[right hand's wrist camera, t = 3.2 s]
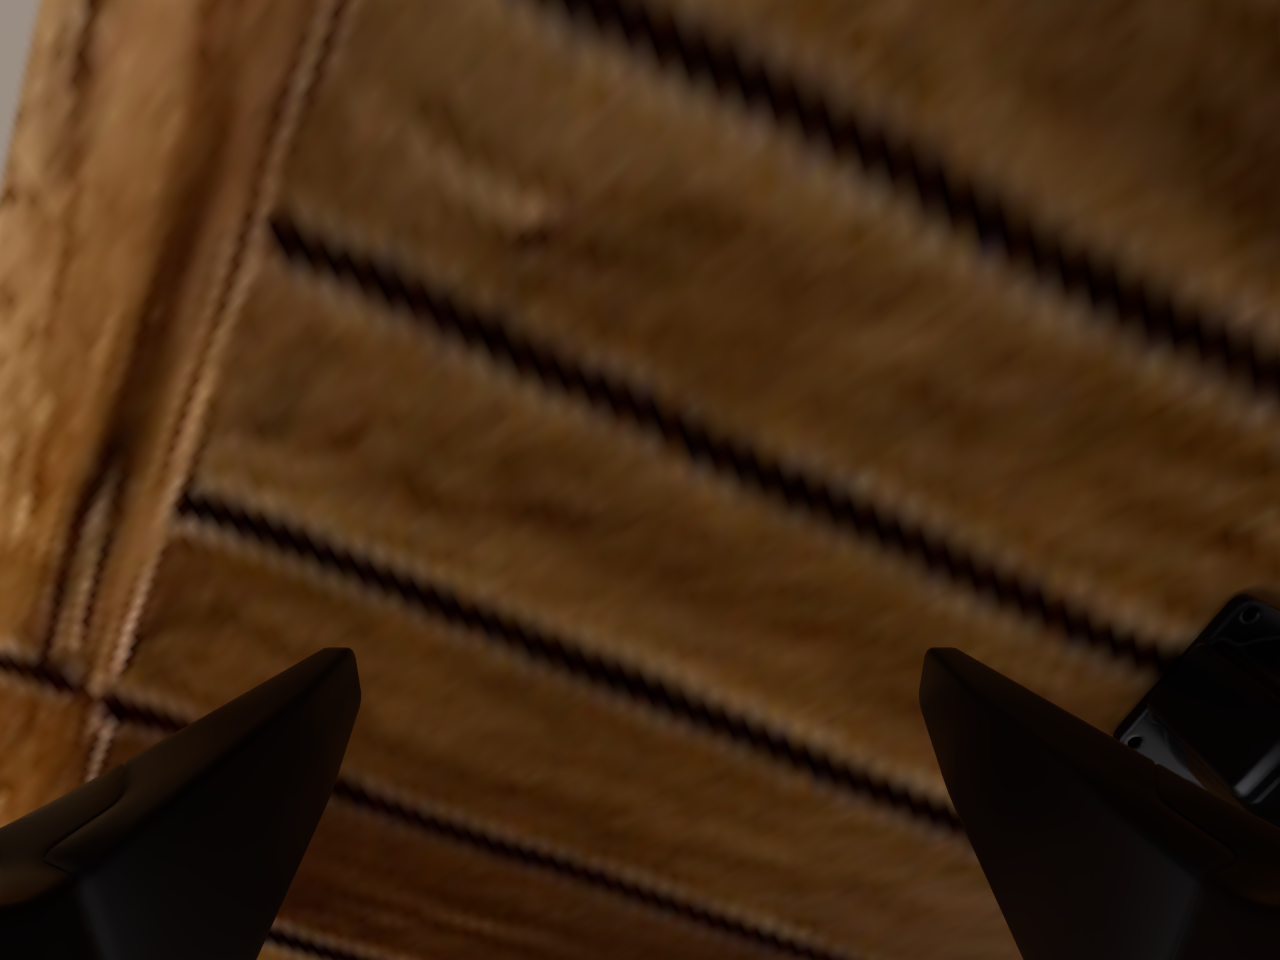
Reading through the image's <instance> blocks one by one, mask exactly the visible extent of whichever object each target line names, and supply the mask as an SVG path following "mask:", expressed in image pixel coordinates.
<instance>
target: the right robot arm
mask: <svg viewBox="0 0 1280 960" xmlns="http://www.w3.org/2000/svg"><path fill="white" fill-rule="evenodd" d="M1247 609H1248V611H1247V612H1246V613H1244V611H1246V610H1247ZM1243 613H1244V614H1243ZM360 702H361V689H360V683H359V676H358V670H357V664H356V658H355V654H354V652H353V650H351V649H350V648H324V649H322V650H320V651H319V652H317V653H315V654H313V655H311V656H310V657H308V658H306V659H304V660H303V661H301V662H299V663H297V664H296V665H294V666H292V667H290V668H289V669H287V670H285V671H283V672H282V673H280V674H278V675H276V676H274V677H273V678H271V679H269V680H267V681H266V682H264V683H262V684H260V685H259V686H257V687H255V688H253V689H252V690H250V691H248V692H246V693H245V694H243V695H241V696H239V697H238V698H236V699H234V700H232V701H230V702H229V703H227V704H225V705H223V706H222V707H220V708H218V709H216V710H215V711H213V712H211V713H209V714H208V715H206V716H204V717H202V718H201V719H199V720H197V721H195V722H193V723H192V724H190V725H188V726H186V727H185V728H183V729H181V730H179V731H178V732H176V733H174V734H172V735H171V736H169V737H167V738H165V739H164V740H162V741H160V742H158V743H157V744H155V745H153V746H151V747H149V748H148V749H146V750H144V751H142V752H141V753H139V754H137V755H135V756H134V757H132V758H130V759H128V760H127V761H126V762H125V765H124V764H119V765H117V766H116V767H114V768H112V769H111V770H109V771H107V772H105V773H104V774H102V775H100V776H98V777H97V778H95V779H93V780H91V781H89V782H87V783H86V784H84V785H82V786H80V787H78V788H77V789H75V790H73V791H71V792H69V793H67V794H66V795H64V796H62V797H60V798H58V799H56V800H54V801H52V802H51V803H49V804H47V805H45V806H43V807H41V808H39V809H37V810H35V811H33V812H31V813H29V814H27V815H25V816H23V817H21V818H19V819H17V820H15V821H13V822H11V823H9V824H7V825H5V826H3V827H1V828H0V960H256V959H257V957H258V955H259V953H260V951H261V948H262V946H263V944H264V942H265V940H266V937H267V935H268V933H269V931H270V929H271V926H272V924H273V922H274V920H275V918H276V915H277V913H278V911H279V909H280V907H281V904H282V902H283V900H284V898H285V895H286V893H287V891H288V889H289V887H290V884H291V882H292V880H293V878H294V876H295V873H296V871H297V869H298V867H299V865H300V862H301V860H302V858H303V856H304V854H305V851H306V849H307V847H308V845H309V843H310V840H311V838H312V836H313V834H314V832H315V829H316V827H317V825H318V823H319V821H320V818H321V816H322V814H323V812H324V810H325V807H326V805H327V803H328V800H329V798H330V795H331V793H332V790H333V787H334V785H335V782H336V779H337V776H338V773H339V770H340V767H341V763H342V760H343V757H344V754H345V751H346V748H347V745H348V742H349V739H350V735H351V732H352V729H353V726H354V723H355V720H356V717H357V714H358V711H359V707H360ZM919 702H920V707H921V711H922V714H923V717H924V720H925V723H926V726H927V729H928V732H929V735H930V739H931V742H932V745H933V748H934V751H935V754H936V757H937V760H938V763H939V767H940V770H941V773H942V776H943V779H944V782H945V785H946V787H947V790H948V793H949V795H950V798H951V800H952V803H953V805H954V807H955V810H956V812H957V814H958V816H959V818H960V821H961V823H962V825H963V827H964V829H965V832H966V834H967V836H968V838H969V840H970V843H971V845H972V847H973V849H974V851H975V854H976V856H977V858H978V860H979V862H980V865H981V867H982V869H983V871H984V873H985V876H986V878H987V880H988V882H989V884H990V887H991V889H992V891H993V893H994V896H995V898H996V900H997V902H998V904H999V907H1000V909H1001V911H1002V913H1003V915H1004V918H1005V920H1006V922H1007V924H1008V926H1009V929H1010V931H1011V933H1012V935H1013V937H1014V940H1015V942H1016V944H1017V946H1018V948H1019V951H1020V953H1021V955H1022V957H1023V959H1024V960H1280V610H1279V609H1277V608H1275V607H1273V606H1271V605H1269V604H1267V603H1265V602H1263V601H1261V600H1259V599H1257V598H1255V597H1253V596H1251V595H1247V594H1246V595H1239V596H1237V597H1235V598H1233V599H1232V600H1231V601H1230V602H1228V604H1227V605H1226V606H1225V607H1224V608H1223V609H1222V610H1221V612H1220V613H1219V614H1218V615H1217V616H1216V617H1215V618H1214V619H1213V621H1212V622H1211V623H1210V624H1209V625H1208V626H1207V627H1206V628H1205V630H1204V631H1203V632H1202V633H1201V634H1200V635H1199V636H1198V637H1197V639H1196V640H1195V641H1194V642H1193V643H1192V644H1191V645H1190V647H1189V648H1188V649H1187V650H1186V651H1185V652H1184V653H1183V654H1182V656H1181V657H1180V658H1179V659H1178V660H1177V661H1176V662H1175V663H1174V665H1173V666H1172V667H1171V668H1170V669H1169V670H1168V671H1167V672H1166V674H1165V675H1164V676H1163V677H1162V678H1161V679H1160V680H1159V681H1158V683H1157V684H1156V685H1155V686H1154V687H1153V688H1152V689H1151V691H1150V692H1149V693H1148V694H1147V695H1146V696H1145V697H1144V698H1143V700H1142V701H1141V702H1140V703H1139V704H1138V705H1137V706H1136V707H1135V709H1134V710H1133V711H1132V712H1131V713H1130V714H1129V715H1128V716H1127V718H1126V719H1125V720H1124V721H1123V722H1122V723H1121V724H1120V726H1119V727H1118V728H1117V729H1116V730H1115V732H1114V734H1113V737H1111V736H1109V735H1108V734H1106V733H1104V732H1102V731H1101V730H1099V729H1097V728H1095V727H1094V726H1092V725H1090V724H1088V723H1087V722H1085V721H1083V720H1081V719H1079V718H1078V717H1076V716H1074V715H1072V714H1071V713H1069V712H1067V711H1065V710H1064V709H1062V708H1060V707H1058V706H1057V705H1055V704H1053V703H1051V702H1050V701H1048V700H1046V699H1044V698H1042V697H1041V696H1039V695H1037V694H1035V693H1034V692H1032V691H1030V690H1028V689H1027V688H1025V687H1023V686H1021V685H1020V684H1018V683H1016V682H1014V681H1013V680H1011V679H1009V678H1007V677H1005V676H1004V675H1002V674H1000V673H998V672H997V671H995V670H993V669H991V668H990V667H988V666H986V665H984V664H983V663H981V662H979V661H977V660H976V659H974V658H972V657H970V656H969V655H967V654H965V653H963V652H961V651H960V650H958V649H956V648H930V649H929V650H927V652H926V654H925V658H924V664H923V670H922V676H921V683H920V689H919ZM1132 737H1134V738H1132ZM1131 738H1132V739H1131ZM1129 739H1131V740H1129ZM1203 788H1204V789H1203ZM1205 789H1206V790H1205Z"/></svg>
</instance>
